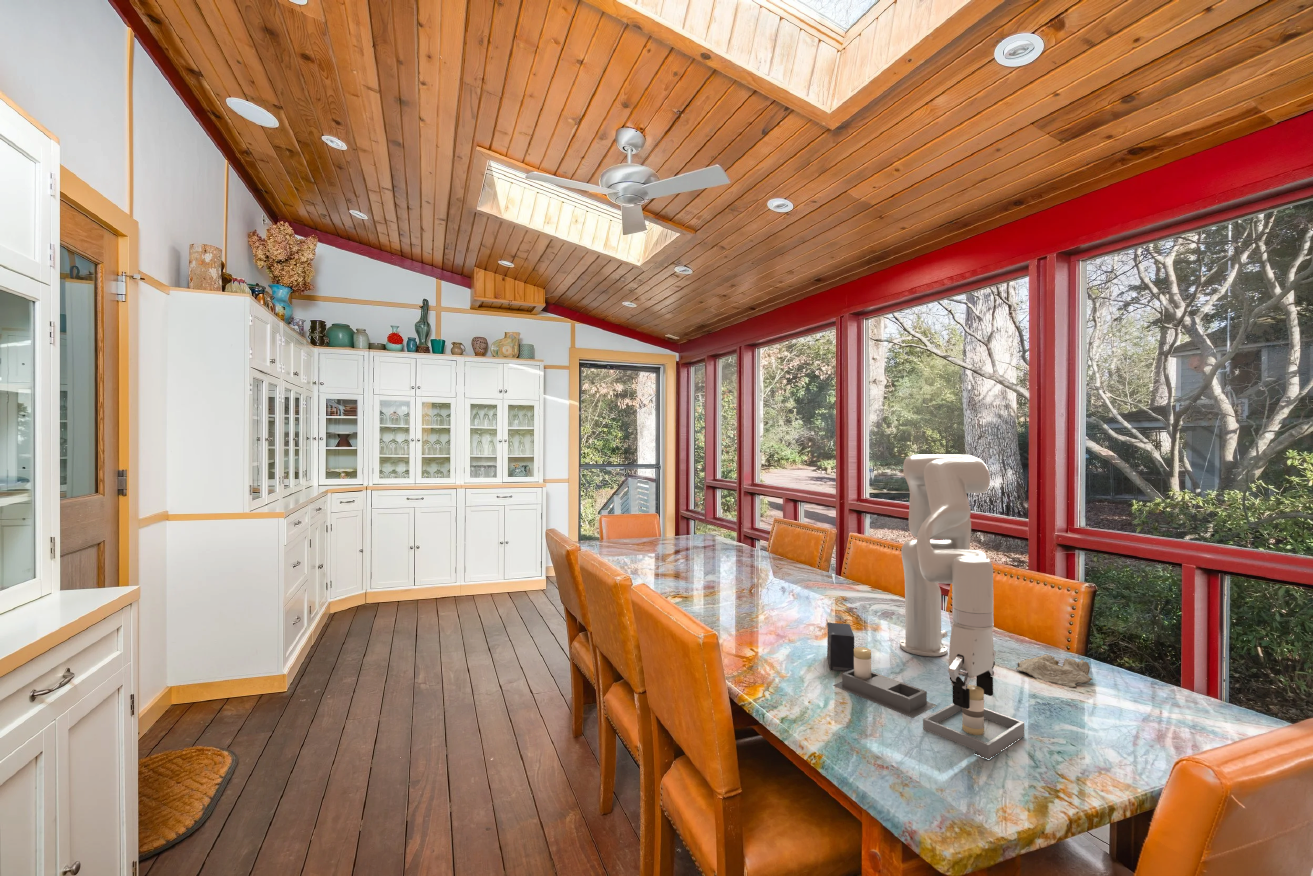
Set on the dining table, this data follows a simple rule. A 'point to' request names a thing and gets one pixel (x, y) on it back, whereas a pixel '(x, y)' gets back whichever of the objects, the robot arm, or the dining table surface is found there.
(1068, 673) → the coral
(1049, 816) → the dining table surface
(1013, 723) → the tray
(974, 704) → the fuse
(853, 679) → the fuse block
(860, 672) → the cylinder
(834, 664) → the small box
